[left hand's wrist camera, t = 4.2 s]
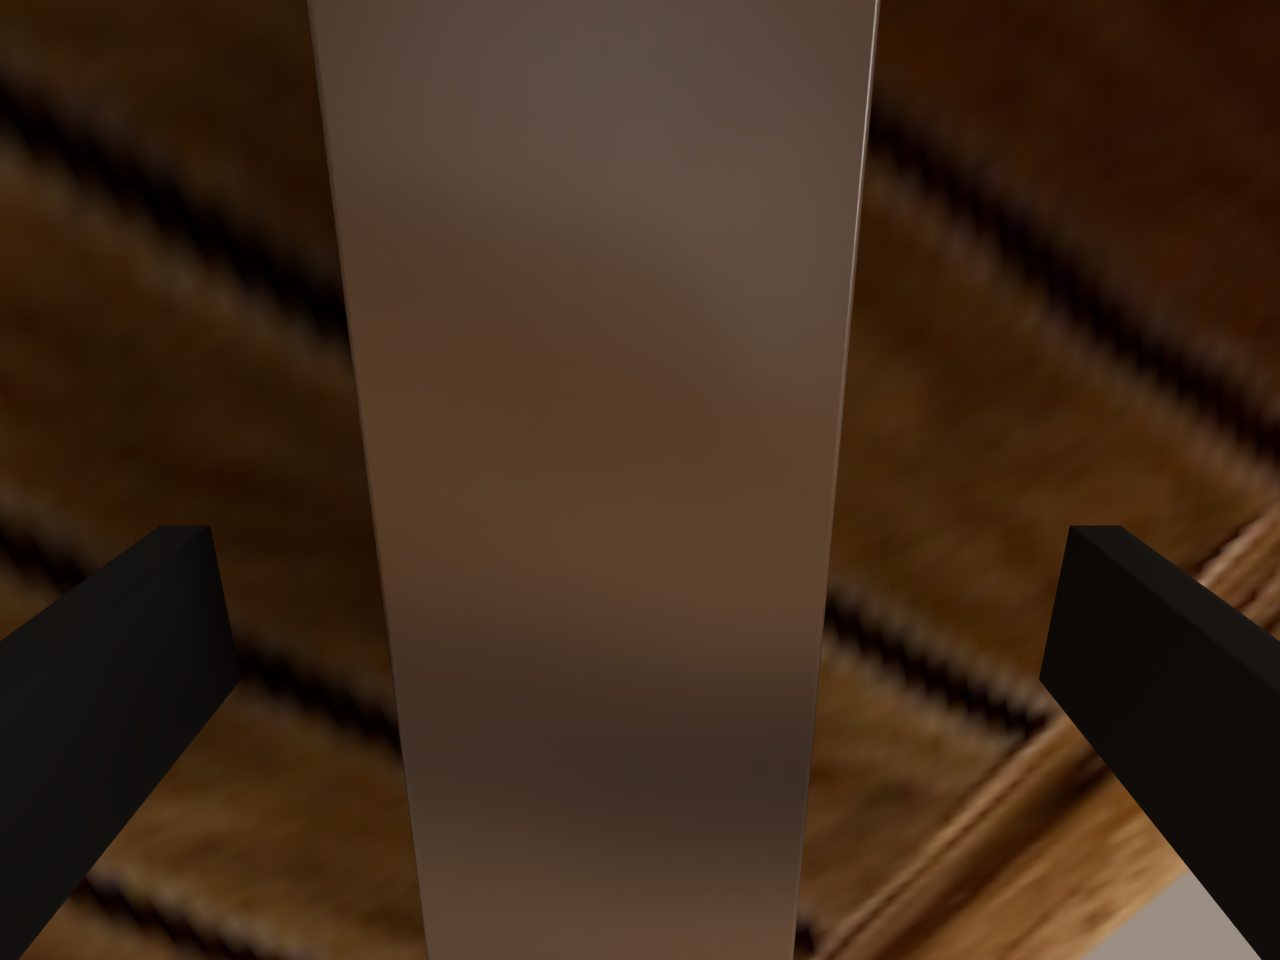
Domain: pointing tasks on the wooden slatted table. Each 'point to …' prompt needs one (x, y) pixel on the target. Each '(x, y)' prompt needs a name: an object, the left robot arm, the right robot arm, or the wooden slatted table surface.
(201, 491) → the wooden slatted table surface
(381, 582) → the beam
